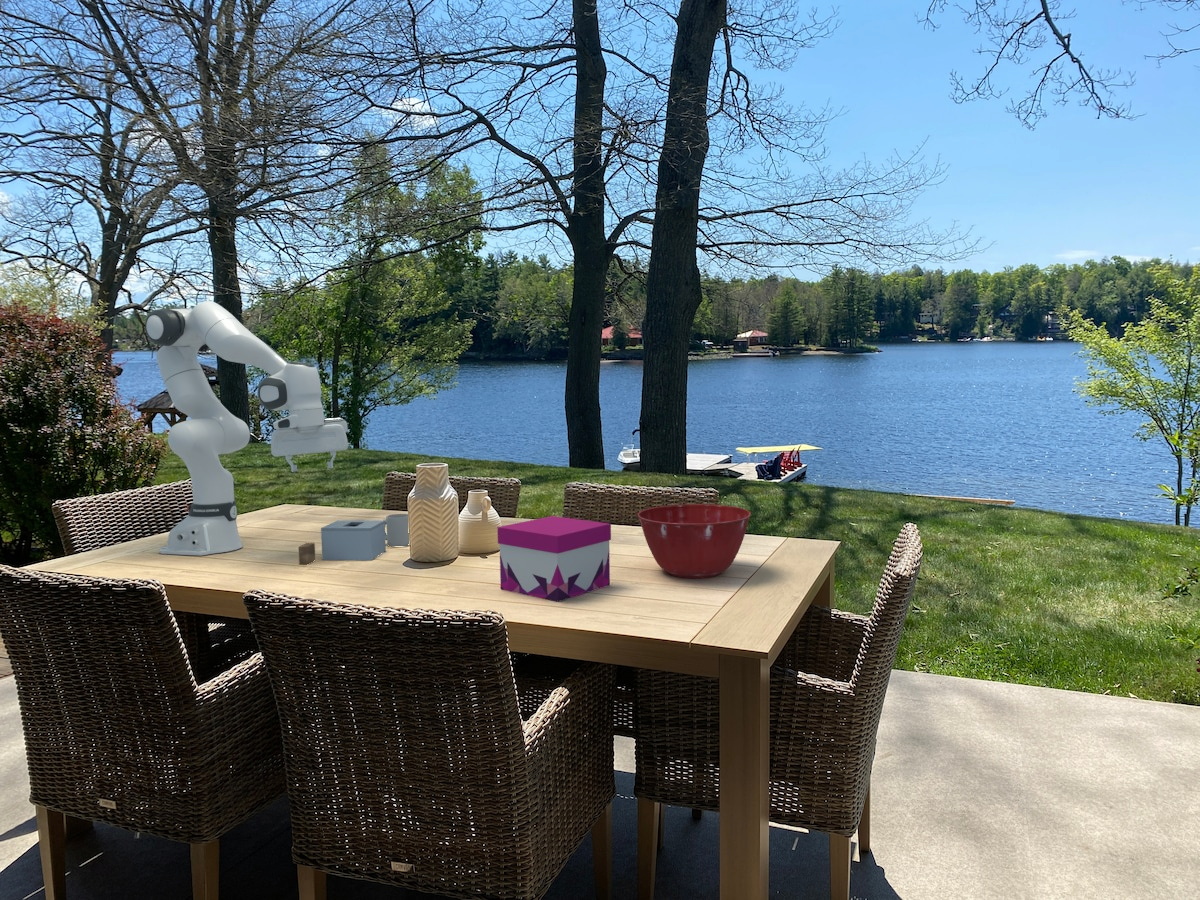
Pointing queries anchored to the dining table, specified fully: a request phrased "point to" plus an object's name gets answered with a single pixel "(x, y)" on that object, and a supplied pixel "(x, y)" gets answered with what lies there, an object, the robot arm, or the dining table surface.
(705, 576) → the mixing bowl
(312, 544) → the tile
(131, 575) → the dining table surface
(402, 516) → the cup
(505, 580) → the decorative box
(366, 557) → the money box
